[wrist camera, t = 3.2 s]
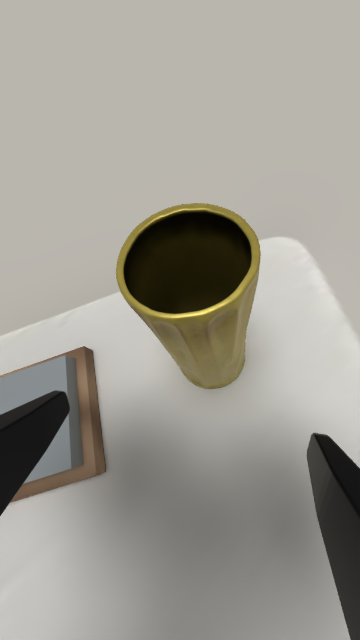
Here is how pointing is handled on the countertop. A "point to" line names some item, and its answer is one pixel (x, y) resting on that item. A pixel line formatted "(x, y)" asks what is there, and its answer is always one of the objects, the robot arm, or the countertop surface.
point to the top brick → (37, 383)
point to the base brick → (89, 430)
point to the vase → (194, 286)
